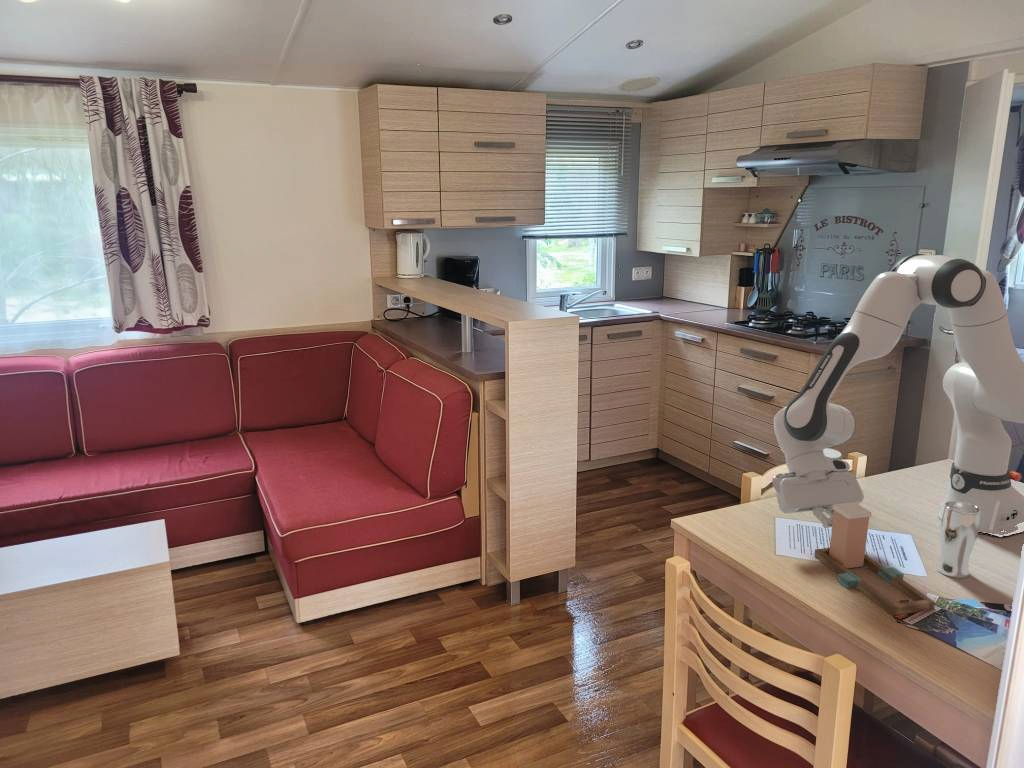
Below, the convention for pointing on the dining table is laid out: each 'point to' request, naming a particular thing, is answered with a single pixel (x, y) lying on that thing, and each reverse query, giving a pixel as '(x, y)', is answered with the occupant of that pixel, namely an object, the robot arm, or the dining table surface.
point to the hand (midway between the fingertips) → (831, 526)
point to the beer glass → (957, 537)
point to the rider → (849, 534)
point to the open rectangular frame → (888, 574)
